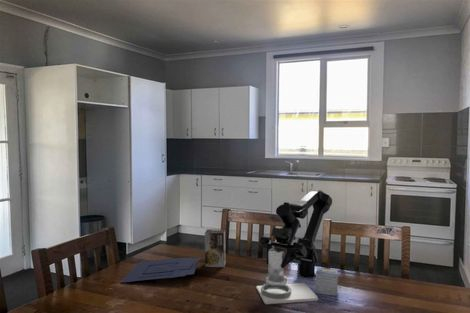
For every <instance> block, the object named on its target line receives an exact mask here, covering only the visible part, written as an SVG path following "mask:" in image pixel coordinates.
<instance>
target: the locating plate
mask: <svg viewBox="0 0 470 313" xmlns="http://www.w3.org/2000/svg"><path fill="white" fill-rule="evenodd" d="M255 287H256V290H257V292H258V294H259V296H260V297H261V299H262V301H263V303H264V304H265V305H274V304H287V303H289V304H290V303H291V304H292V303H301V302H302V303H303V302H314V301H315V302H318V301H319V297H318V296H317V295H316V293H314V291H313V290H312V289H311V288H310V287H309V286H308V285H307V284H306V283H305V282H300V283H299V282H297V283H296V282H295V283H287V284H286V285H283V286H272V285H269V284H267V283H264V284H262V285H256V286H255Z"/></svg>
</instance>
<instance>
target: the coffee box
mask: <svg viewBox="0 0 470 313" xmlns="http://www.w3.org/2000/svg"><path fill="white" fill-rule="evenodd" d="M226 261H227V260H226V229H216V228H215V229H208V228H207V229H206V230H205V231H204V267H206V268H225V266H226Z"/></svg>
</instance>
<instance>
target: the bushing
mask: <svg viewBox="0 0 470 313" xmlns="http://www.w3.org/2000/svg"><path fill="white" fill-rule="evenodd" d="M285 256H286V253H285V249H283V248H279V247H274V248H272V249H269V263H268V264H267V265H268V269H267V270H268V272H267V273H268V276H266V277H265V284H269V285H272V286H283V285H286V284H288V279H287V278H286V277H285V267H284V268H282V267H281V266H282V262H283V260H284V258H285Z"/></svg>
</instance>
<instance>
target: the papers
mask: <svg viewBox="0 0 470 313" xmlns="http://www.w3.org/2000/svg"><path fill="white" fill-rule="evenodd" d="M200 259H201V257H178V258H177V257H176V258H168V259H167V258H166V259H156V260H154V259H153V260H150V261H144V262H143V261H140V262H137V264H136V265H135V266H134V267H133V269H132V270H131V271H130V273H128V274H127V275H126V277H124V278H123V279H122V280H121V281H120V283H122V284H123V283H132V282H139V281H146V280H147V281H149V280H158V279H171V278H178V277H186V276H188V275H194V274H195V272H196V269H197V267H198V265H199V262H200Z"/></svg>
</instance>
